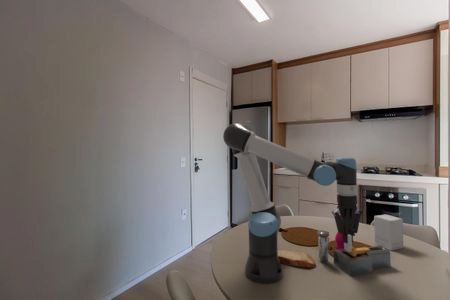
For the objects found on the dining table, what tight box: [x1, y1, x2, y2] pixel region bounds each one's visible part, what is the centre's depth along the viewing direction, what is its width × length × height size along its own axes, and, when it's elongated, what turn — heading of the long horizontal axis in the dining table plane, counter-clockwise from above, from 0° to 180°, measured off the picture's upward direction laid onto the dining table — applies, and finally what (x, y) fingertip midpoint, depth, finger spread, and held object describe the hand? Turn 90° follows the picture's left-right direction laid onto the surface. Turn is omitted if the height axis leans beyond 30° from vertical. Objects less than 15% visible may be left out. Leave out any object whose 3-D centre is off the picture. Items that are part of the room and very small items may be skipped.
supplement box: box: [373, 214, 404, 251], centre depth 115 cm, size 9×9×15 cm
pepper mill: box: [334, 214, 344, 250], centre depth 113 cm, size 7×7×20 cm
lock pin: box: [345, 246, 370, 256], centre depth 95 cm, size 9×5×3 cm, turn 100°
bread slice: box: [278, 249, 317, 269], centre depth 102 cm, size 18×18×4 cm
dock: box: [333, 245, 391, 277], centre depth 96 cm, size 22×10×7 cm, turn 100°
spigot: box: [316, 229, 330, 264], centre depth 101 cm, size 5×5×13 cm
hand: (348, 250), depth 94 cm, fingers closed
